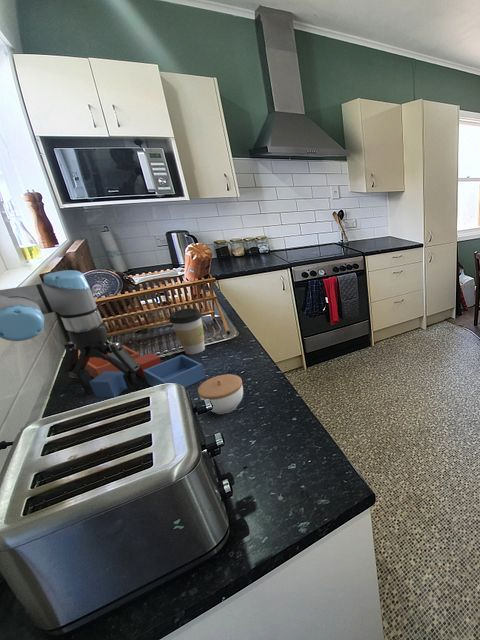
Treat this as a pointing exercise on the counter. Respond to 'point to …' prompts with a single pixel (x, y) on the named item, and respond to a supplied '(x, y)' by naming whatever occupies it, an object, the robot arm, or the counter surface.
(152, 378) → the blue bin
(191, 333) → the coffee cup
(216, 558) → the counter surface
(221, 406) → the trinket box
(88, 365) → the rust bin
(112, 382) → the blue block
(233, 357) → the counter surface
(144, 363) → the rust block
